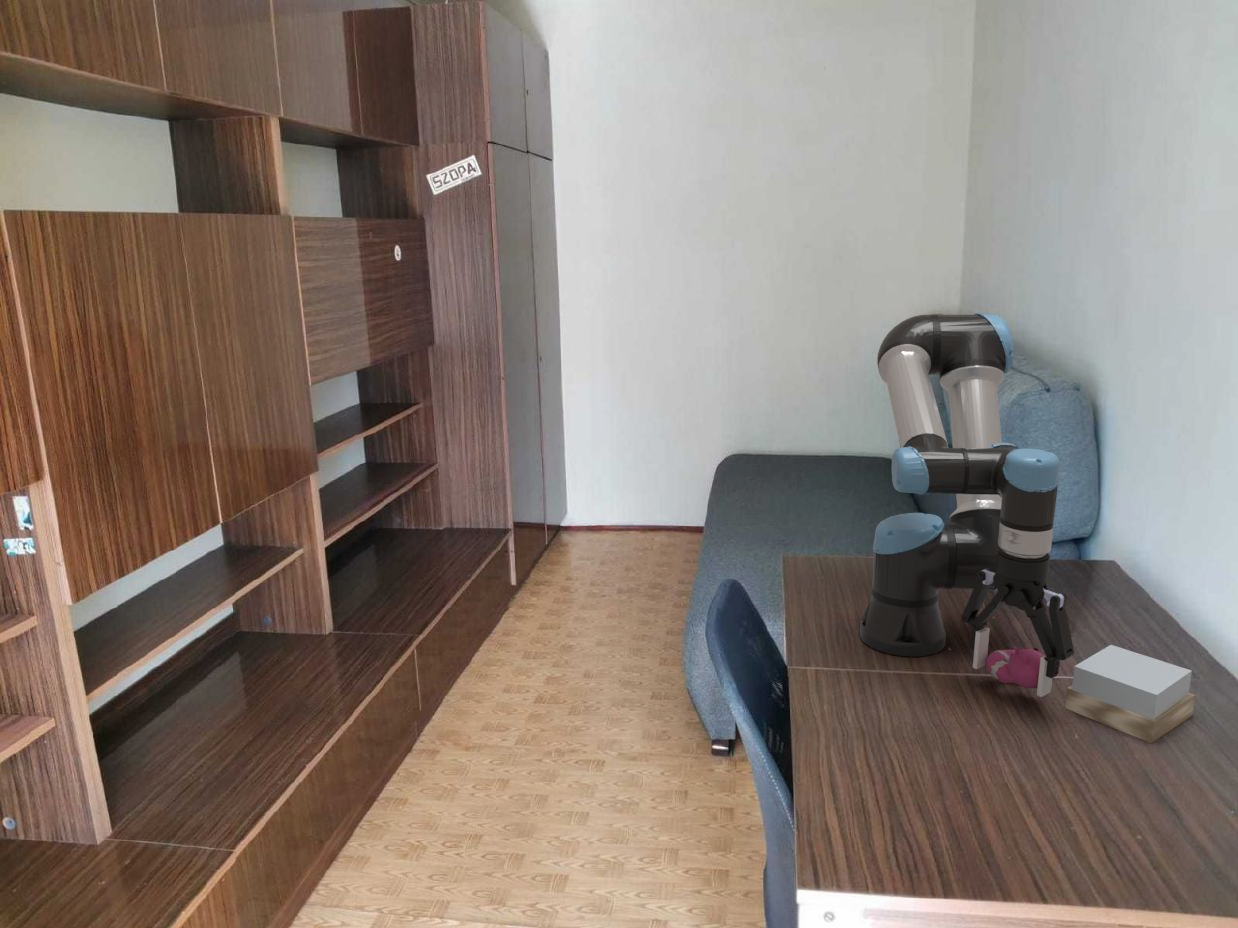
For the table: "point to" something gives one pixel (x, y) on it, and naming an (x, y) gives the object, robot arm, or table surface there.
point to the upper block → (1132, 681)
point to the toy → (1015, 666)
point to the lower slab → (1130, 715)
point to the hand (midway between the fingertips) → (1010, 679)
